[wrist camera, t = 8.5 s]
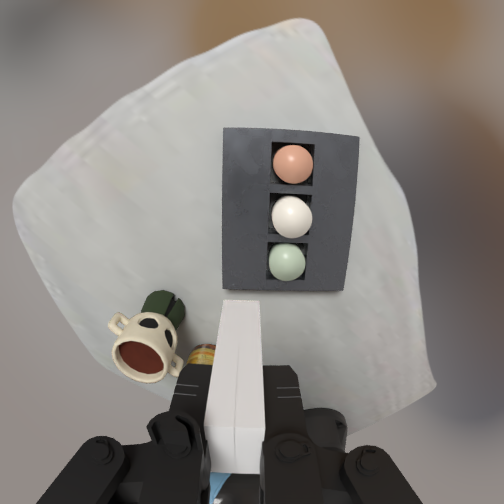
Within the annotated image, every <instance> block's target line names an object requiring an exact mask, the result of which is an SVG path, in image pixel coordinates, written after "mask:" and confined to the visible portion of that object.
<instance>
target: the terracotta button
mask: <svg viewBox="0 0 504 504" xmlns="http://www.w3.org/2000/svg"><path fill="white" fill-rule="evenodd" d="M272 167H273V170H274V172H275V173H276V174H277V175H278V176H279V177H280V178H281V179H282V180H283V181H285V182H287V183H292V184H296V183H300V182H303V181H304V180H306V179H307V178H308V177H309V176H310V174H311V172H312V169H313V160H312V157H311V155H310V154H309V152H308V151H307V150H306V149H304V148H303V147H301V146H297V145H288V146H284V147H281V148H280V149H278V150H277V151H276V152H275V154H274V156H273V159H272Z"/></svg>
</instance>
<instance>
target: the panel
mask: <svg viewBox="0 0 504 504" xmlns="http://www.w3.org/2000/svg"><path fill="white" fill-rule="evenodd" d="M272 142H277V143H294V144H308V145H310V152H309V154H310V155H311V157H312V160H313V169H312V172H311V174H310V176H309V177H308V183H296V184H292V183H287V182H270V173H271V144H272ZM358 157H359V137H357V136H349V135H341V134H333V133H323V132H312V131H300V130H286V129H266V128H223V173H222V280H223V289H242V290H298V291H343V288H344V282H345V276H346V270H347V263H348V256H349V249H350V241H351V233H352V225H353V216H354V207H355V196H356V185H357V172H358ZM270 193H290V194H307V206H308V207H309V209H310V211H311V213H312V224H311V226H310V228H309V230H308V231H307V232H306V233H305V234H304V235H302V236H300V237H298V238H286V237H284V236H282V235H281V234H279V233H278V232H277V231H276V229H275V228H268V222H269V199H270ZM268 242H288V243H304V244H303V256H304V258H305V269H304V271H303V273H302V274H301V275H300V276H299V277H298V278H296V279H294V280H291V281H282V280H279V279H277V278H276V277H275V276H274V275H273V274H272V273H271V270H266V266H267V245H268Z"/></svg>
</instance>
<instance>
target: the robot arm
mask: <svg viewBox="0 0 504 504" xmlns="http://www.w3.org/2000/svg"><path fill="white" fill-rule="evenodd" d="M147 429H148V432H149V435H150V437H151V440H152V441H150V442H148V443H143V444H135V445H121V444H120V443H119V442H118V441H116V440H115V439H113V438H110V437H107V436H96V437H94V438H91V439H89V440H87V441H86V442H85V443H84V444H83V445H82V446H81V447H80V449H79V450H78V451H77V452H76V454H75V455H74V456H73V458H72V459H71V460H70V461H69V463H68V464H67V465H66V466H65V468H64V469H63V470H62V471H61V473H60V474H59V475H58V477H57V478H56V479H55V480H54V482H53V483H52V484H51V485H50V487H49V488H48V489H47V490H46V492H45V493H44V494H43V495H42V497H41V498H40V499H39V501H38V502H37V503H36V504H423V503H422V502H421V501H420V499H419V498H418V496H417V495H416V493H415V492H414V491H413V490H412V488H411V486H410V485H409V483H408V482H407V481H406V479H405V477H404V476H403V475H402V473H401V472H400V470H399V469H398V467H397V466H396V465H395V463H394V462H393V461H392V459H391V457H390V456H389V455H388V454H387V453H386V452H385V451H384V450H383V449H381V448H379V447H376V446H370V445H369V446H368V445H366V446H361V447H357V448H355V449H354V450H352V451H350V452H349V453H345V445H346V437H347V424H346V421H345V418H344V416H343V415H342V414H341V413H339V412H338V411H335V410H332V409H325V408H317V409H309V410H304V411H303V405H302V399H301V394H300V389H299V382H298V377H297V374H296V373H295V372H294V370H293V369H292V368H291V367H290V365H284V366H262V346H261V325H260V304H259V301H248V300H224V302H223V307H222V313H221V319H220V325H219V331H218V337H217V343H216V349H215V355H214V362H213V365H208V364H193V363H188V364H187V365H186V366H185V367H184V368H183V369H182V370H181V371H180V373H179V376H178V380H177V385H176V387H175V390H174V395H173V398H172V401H171V405H170V409H169V411H167V412H164V413H161V414H158V415H156V416H155V417H154V418H153V419H151V420H150V422H149V424H148V425H147ZM210 471H211V473H210Z"/></svg>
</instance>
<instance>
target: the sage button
mask: <svg viewBox="0 0 504 504" xmlns="http://www.w3.org/2000/svg"><path fill="white" fill-rule="evenodd" d="M268 259H269V266H270V270H271V273H272V274H273V275H274V276H275V277H276V278H277V279H279V280H282V281H291V280H294V279H296V278H298V277H299V276H300V275H301V274H302V273H303V271H304V269H305V258H304V256H303V254H302V251H301V249H300V247H299V246H298V244H297V243H288V242H274V243H273V244H272V245H271V247H270V249H269V251H268Z"/></svg>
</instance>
